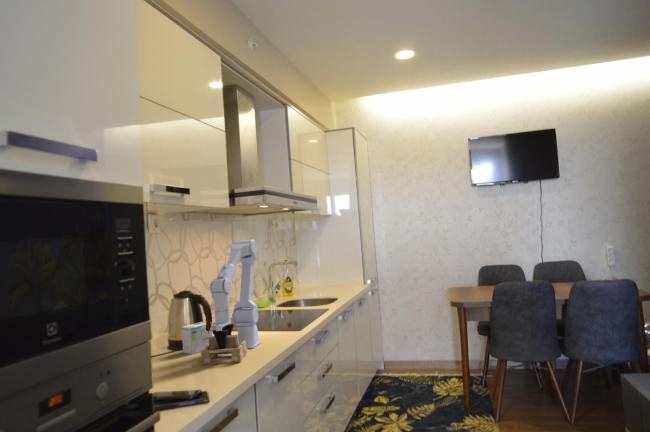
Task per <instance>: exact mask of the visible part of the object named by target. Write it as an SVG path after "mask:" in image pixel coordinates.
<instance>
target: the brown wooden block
mask: <svg viewBox="0 0 650 432" xmlns="http://www.w3.org/2000/svg"><path fill="white" fill-rule="evenodd" d="M233 348H238V334H231V335H227V337H226V348H225V349H233ZM209 350H219V346H218V343H217V340H216V338H215V336H214V335H212V336H211V337H210V338H209ZM217 354H231V352H217V353H210V355H217Z"/></svg>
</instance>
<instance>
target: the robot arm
mask: <svg viewBox="0 0 650 432" xmlns="http://www.w3.org/2000/svg"><path fill="white" fill-rule="evenodd" d="M258 248H259V247H258V244H257V240H255V239H254V238H253V239H246V240H245V239H244V240H243V239H242V240H233V241H232V242H231V244H230V254H229V257H228V260H227V263H224V264H223V265H222V266H221V269H220V270H219V272H218V275H217V276H216V278H214V279H212V280H211V282H210V284H209V291H210V293H211V297H212V299H213V306H214V307H213V308H214V321H213V322H211V326H212V325H213V326H215V329H212V335H213V336H215V338H216V340H217V343H218V346H219V349H225V348H226V337H227V335H232V332H233V328H234V326H236V329H237V335H238V347H239V345H240V344H241V343H242V342H243V341H244V340H247V349H254V348H256V347H257V346H258V345H260V344H261V341H259V330H258V326H257V323H258V321H259V316H260V314H259V305H258V304H257V303H255V302H254V301H253V289H254V274H255V272H254V271H255V261H257V260H258ZM239 262H240V263H241V277H240V279H241V280H240V291H239V301H238V302H236V303H235V304H234V306H233V311H232V313H231V305H230V293H231V290H232V284H233V279H234V276H235V275H236V272H237V269H236V267H237V265H238V263H239Z"/></svg>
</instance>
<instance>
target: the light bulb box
mask: <svg viewBox="0 0 650 432" xmlns="http://www.w3.org/2000/svg"><path fill="white" fill-rule="evenodd" d="M206 322H207V321H200V322H196V323H193V324H188V325H185V326H181V327H180V328H181V338H182V339H181V340H182V352H183V353H184V354H189V355H193V354H198V353H201V351H202V350H203V349H204V348H205V347H207V346H208V345H209V338H210V337H211V336H213V329H212V328H213V327H212V326H211V328H210V331H207V330H206ZM208 332H209V333H208Z"/></svg>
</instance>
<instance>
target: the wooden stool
mask: <svg viewBox="0 0 650 432" xmlns="http://www.w3.org/2000/svg"><path fill="white" fill-rule="evenodd" d="M217 352H231V354H217V355H210V353H217ZM247 354H248V348H247V340H244V341H243V342H242V343H241V344H240V345H239V347H238V348H233V349H219V350H209V345H208V346H207V347H205V348H204V349H203V350H202V351H201V352H200V356H201V357H200V358H201V365H202V366H212V365H213V366H214V365H225V364H226V365H227V364H238V363H241V362H242V361H243V360H244V359H245V357H246V356H247Z"/></svg>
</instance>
